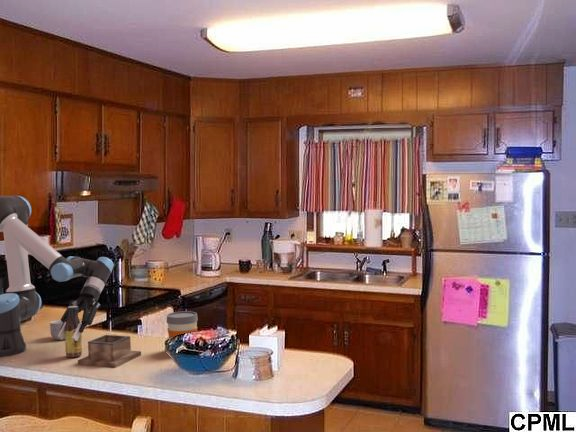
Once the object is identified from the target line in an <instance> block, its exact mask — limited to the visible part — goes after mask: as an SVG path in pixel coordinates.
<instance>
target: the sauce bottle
mask: <svg viewBox="0 0 576 432" xmlns="http://www.w3.org/2000/svg"><path fill="white" fill-rule="evenodd" d="M68 306H69V305H68ZM68 306H67V308H68V320H67V322H66V324H65V339H64V340H65V343H64V344H65V355H66V357H67V358H78V357H80V356H81V355H82V354H83V353H82V351H83V338H82V337H83V335H82V334H83V332H82V333H81V334H80V336H79V338H78V340H77V341H75V340H74V339H73V338H72V337H73V335H74V333H75V331H76V329H77V327H78V325H79V323H80V322H81V321H80V318H79V313H78V309H79V308H78V306H69V307H68Z"/></svg>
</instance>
